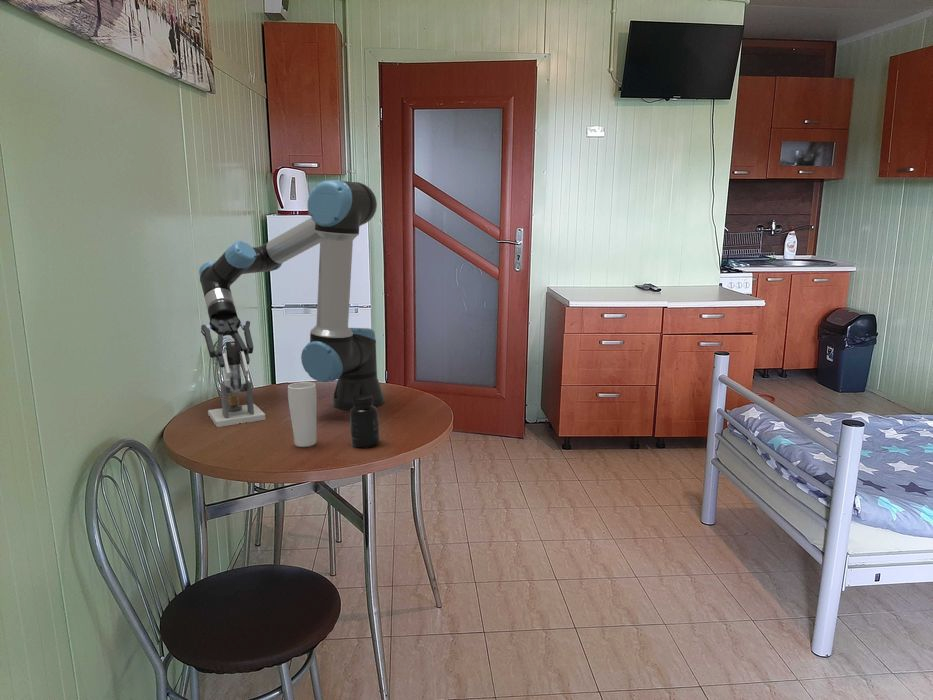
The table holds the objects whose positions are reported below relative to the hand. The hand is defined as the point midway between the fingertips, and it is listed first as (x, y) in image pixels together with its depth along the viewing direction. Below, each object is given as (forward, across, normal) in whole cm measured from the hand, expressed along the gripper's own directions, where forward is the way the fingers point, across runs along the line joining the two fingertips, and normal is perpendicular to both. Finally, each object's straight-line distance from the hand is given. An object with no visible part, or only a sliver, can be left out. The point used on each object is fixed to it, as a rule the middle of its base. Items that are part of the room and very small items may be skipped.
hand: (237, 374), depth 185 cm
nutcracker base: (+5, 0, -15) cm, 15 cm away
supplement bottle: (+35, -22, +16) cm, 45 cm away
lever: (-1, 0, -9) cm, 9 cm away
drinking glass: (+30, -10, +10) cm, 33 cm away
